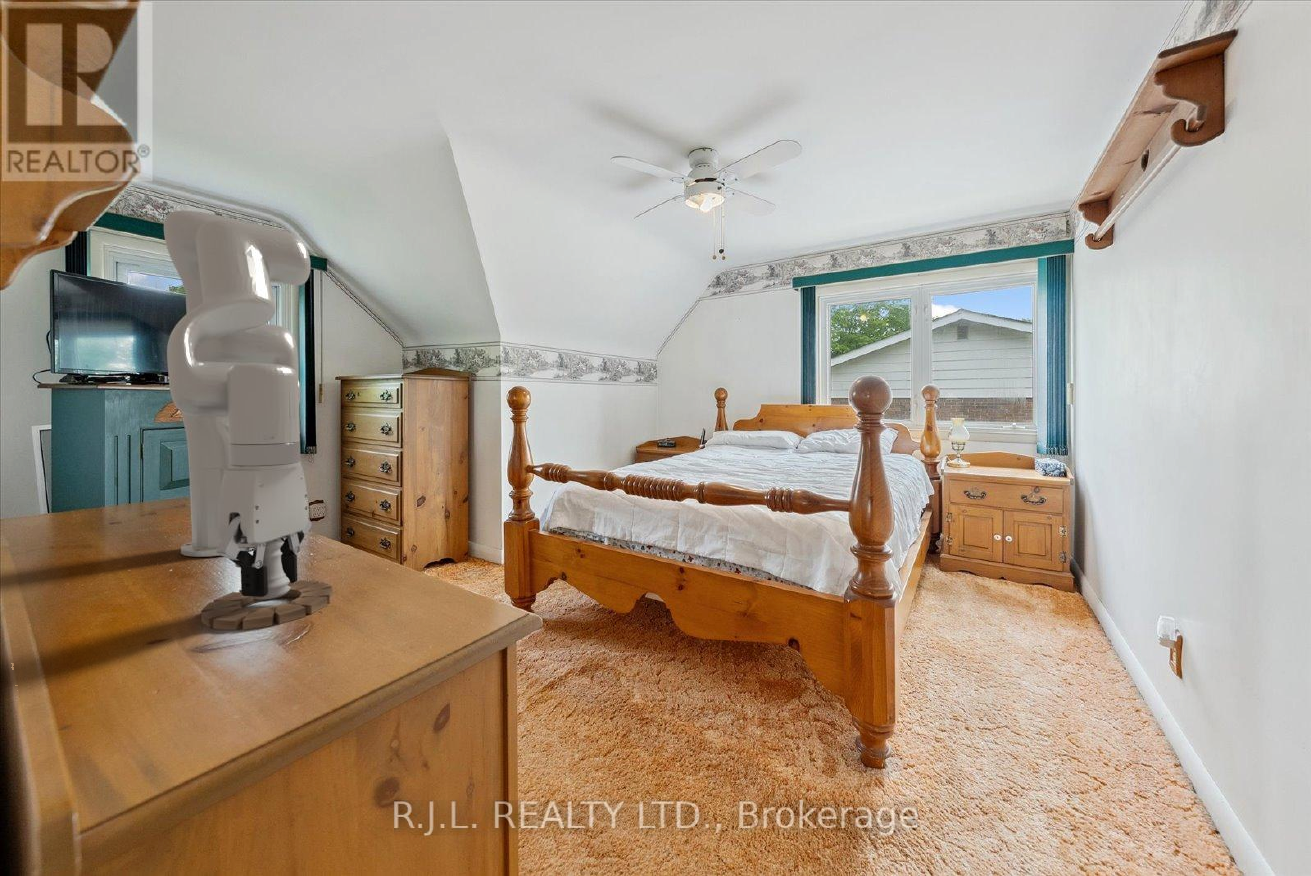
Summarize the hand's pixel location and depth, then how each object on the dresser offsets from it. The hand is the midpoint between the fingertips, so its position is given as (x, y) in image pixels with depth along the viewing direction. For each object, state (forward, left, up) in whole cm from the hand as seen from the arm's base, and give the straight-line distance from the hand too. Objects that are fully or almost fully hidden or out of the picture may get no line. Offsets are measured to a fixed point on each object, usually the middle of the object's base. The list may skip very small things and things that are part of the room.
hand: (270, 587), depth 70 cm
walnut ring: (0, 0, -3) cm, 3 cm away
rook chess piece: (0, 0, -1) cm, 1 cm away
